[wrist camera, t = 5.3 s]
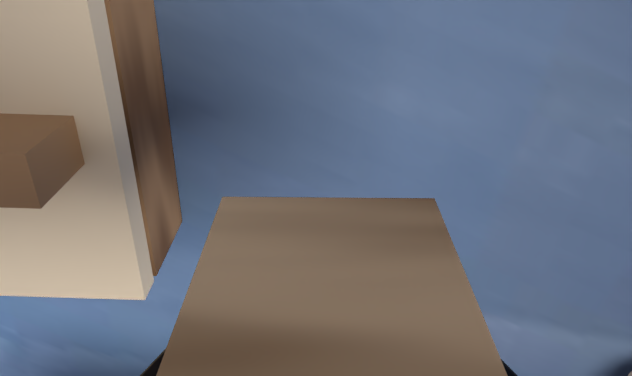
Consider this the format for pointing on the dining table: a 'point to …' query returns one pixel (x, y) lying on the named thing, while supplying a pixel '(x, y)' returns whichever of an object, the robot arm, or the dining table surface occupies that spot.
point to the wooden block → (330, 294)
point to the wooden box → (146, 120)
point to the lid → (66, 158)
